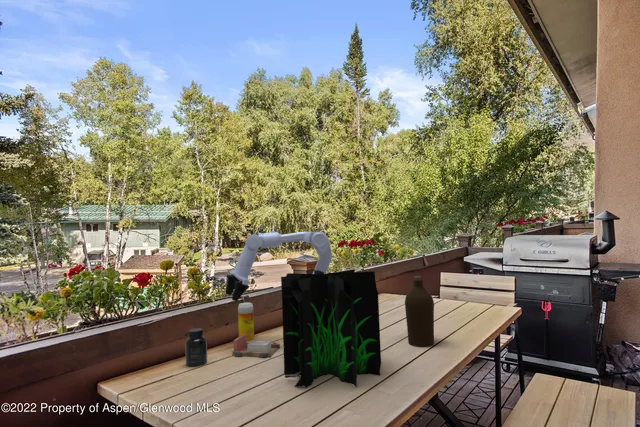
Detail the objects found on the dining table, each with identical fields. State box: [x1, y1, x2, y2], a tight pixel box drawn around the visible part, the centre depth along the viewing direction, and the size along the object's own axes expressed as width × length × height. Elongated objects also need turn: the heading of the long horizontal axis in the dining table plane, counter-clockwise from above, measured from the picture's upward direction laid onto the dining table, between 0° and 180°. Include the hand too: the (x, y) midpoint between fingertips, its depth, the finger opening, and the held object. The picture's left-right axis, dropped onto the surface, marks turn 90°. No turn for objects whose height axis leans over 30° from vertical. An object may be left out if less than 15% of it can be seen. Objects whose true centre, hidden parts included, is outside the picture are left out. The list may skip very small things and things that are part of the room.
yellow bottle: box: [237, 302, 255, 342], centre depth 152 cm, size 6×6×15 cm
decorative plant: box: [280, 268, 382, 389], centre depth 117 cm, size 29×30×30 cm
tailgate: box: [233, 334, 247, 352], centre depth 136 cm, size 1×8×6 cm, turn 167°
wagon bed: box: [232, 342, 281, 359], centre depth 134 cm, size 14×12×3 cm
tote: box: [246, 340, 272, 353], centre depth 134 cm, size 7×5×3 cm
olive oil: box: [404, 275, 435, 348], centre depth 141 cm, size 11×11×25 cm
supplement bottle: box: [184, 327, 208, 368], centre depth 125 cm, size 7×7×12 cm
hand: (231, 297), depth 142 cm, fingers open, 7 cm apart
